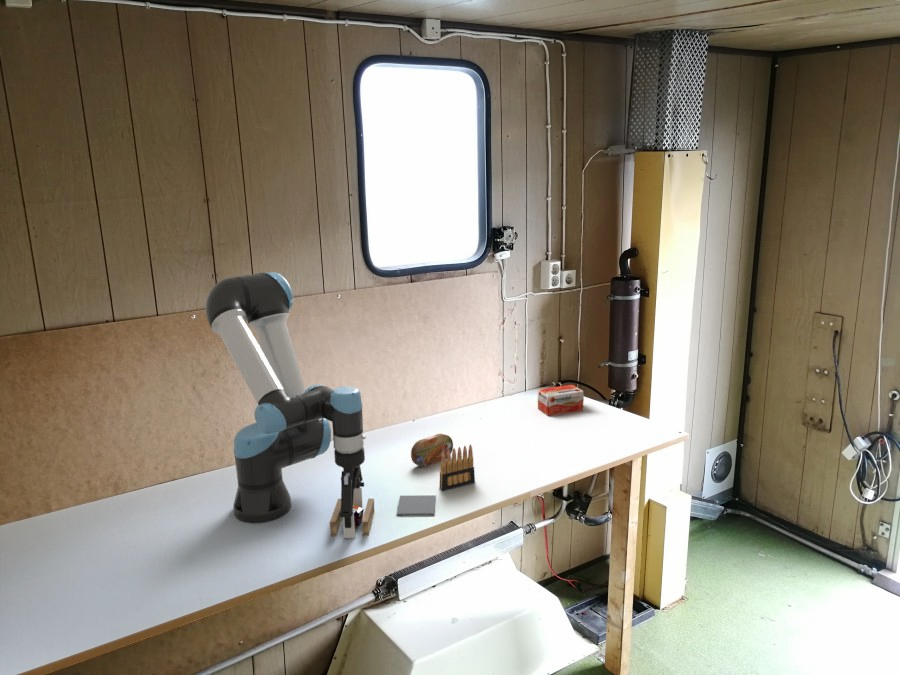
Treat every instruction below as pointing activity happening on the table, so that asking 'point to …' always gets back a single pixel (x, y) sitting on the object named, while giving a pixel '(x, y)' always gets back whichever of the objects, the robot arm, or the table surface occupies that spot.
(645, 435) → the table surface
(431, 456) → the tin
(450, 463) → the ammunition clip
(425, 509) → the rubber pad
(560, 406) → the medicine box
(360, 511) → the rubik's cube
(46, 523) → the table surface
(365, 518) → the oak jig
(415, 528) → the table surface
